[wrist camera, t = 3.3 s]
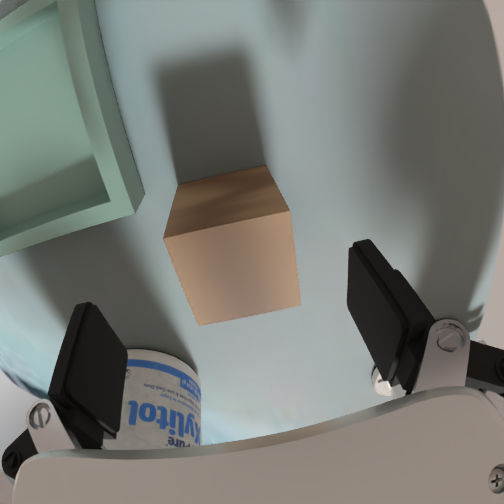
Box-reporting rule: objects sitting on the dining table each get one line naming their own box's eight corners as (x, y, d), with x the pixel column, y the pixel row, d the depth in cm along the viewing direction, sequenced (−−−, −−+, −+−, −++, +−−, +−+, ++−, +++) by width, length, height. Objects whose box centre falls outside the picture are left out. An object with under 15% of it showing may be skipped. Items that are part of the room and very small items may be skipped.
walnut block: (265, 165, 17) (290, 210, 12) (278, 240, 19) (300, 304, 14) (178, 184, 17) (163, 238, 12) (200, 256, 19) (198, 326, 14)
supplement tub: (216, 361, 25) (230, 528, 13) (182, 407, 29) (185, 534, 17) (106, 329, 22) (73, 508, 10) (95, 384, 26) (76, 516, 14)
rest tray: (92, -14, 9) (73, -25, 7) (145, 194, 17) (135, 213, 14) (-57, 89, 9) (-81, 96, 7) (-3, 244, 17) (-20, 264, 14)
